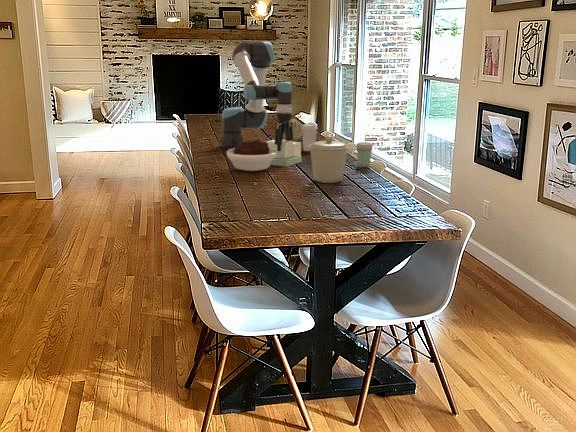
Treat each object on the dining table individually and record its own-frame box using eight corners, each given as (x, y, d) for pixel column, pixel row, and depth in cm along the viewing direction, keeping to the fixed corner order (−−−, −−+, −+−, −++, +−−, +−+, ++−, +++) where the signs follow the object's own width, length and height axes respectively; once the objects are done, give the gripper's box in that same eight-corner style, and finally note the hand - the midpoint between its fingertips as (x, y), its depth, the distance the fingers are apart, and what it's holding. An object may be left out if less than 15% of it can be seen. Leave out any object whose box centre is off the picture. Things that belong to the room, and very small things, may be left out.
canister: (336, 187, 278) (337, 139, 272) (301, 182, 287) (301, 136, 281) (354, 180, 292) (355, 135, 287) (320, 175, 302) (321, 131, 296)
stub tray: (266, 164, 328) (266, 158, 327) (281, 159, 341) (281, 153, 340) (286, 166, 322) (286, 160, 321) (301, 161, 335) (301, 156, 334)
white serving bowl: (238, 176, 297) (238, 145, 293) (219, 167, 318) (218, 137, 314) (285, 172, 308) (285, 141, 304) (263, 163, 330) (263, 135, 325)
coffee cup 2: (373, 165, 326) (374, 142, 323) (369, 168, 319) (370, 145, 315) (357, 164, 329) (358, 141, 326) (353, 167, 321) (354, 144, 318)
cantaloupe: (276, 142, 398) (276, 118, 394) (284, 139, 412) (285, 116, 407) (297, 143, 393) (298, 119, 389) (306, 140, 406) (306, 117, 402)
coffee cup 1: (315, 152, 364) (316, 126, 360) (299, 151, 366) (300, 125, 362) (318, 149, 373) (318, 124, 369) (302, 148, 375) (303, 123, 371)
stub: (274, 156, 328) (275, 141, 326) (282, 154, 335) (282, 139, 333) (284, 158, 325) (285, 142, 323) (292, 155, 332) (292, 140, 330)
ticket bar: (265, 155, 351) (265, 141, 349) (273, 153, 358) (273, 139, 356) (293, 159, 343) (293, 144, 340) (300, 156, 349) (300, 142, 347)
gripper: (280, 114, 313) (280, 159, 320) (300, 111, 331) (299, 153, 337) (267, 113, 317) (267, 158, 323) (288, 110, 334) (287, 152, 341)
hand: (284, 155), depth 330 cm, fingers closed on stub, 8 cm apart
